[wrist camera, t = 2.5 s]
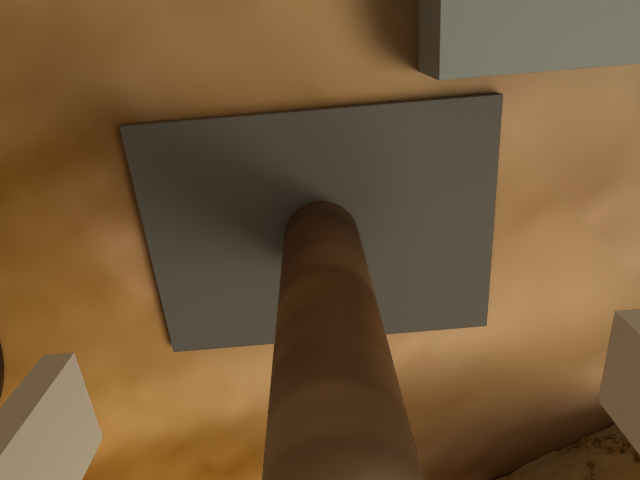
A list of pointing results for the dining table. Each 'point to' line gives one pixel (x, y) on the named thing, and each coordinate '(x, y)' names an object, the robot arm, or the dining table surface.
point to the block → (525, 36)
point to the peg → (332, 362)
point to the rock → (586, 460)
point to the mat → (312, 186)
